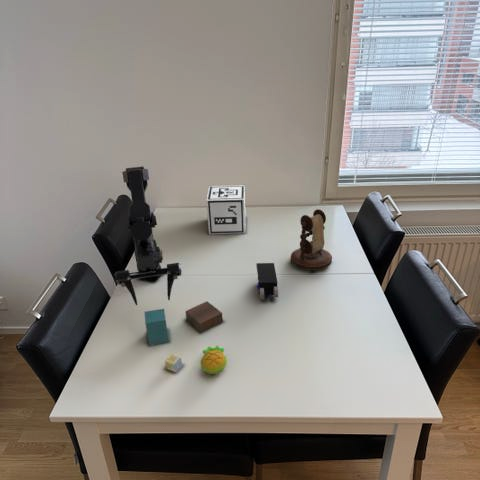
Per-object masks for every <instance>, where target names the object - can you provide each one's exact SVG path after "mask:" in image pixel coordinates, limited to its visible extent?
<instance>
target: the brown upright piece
mask: <svg viewBox="0 0 480 480" xmlns="http://www.w3.org/2000/svg"><path fill="white" fill-rule="evenodd" d="M299 220H300V225H301V231H300V232H301V233H300V235H299V239H300V241H299V248H296V249H295V250H294V251H292V252H291V254H290V261H291V263H292V264H293V265H294V266H296V267H297V268H299V269H303V270H307V271H310V272H311V273H314V271H318V270H322V269H325V268H327V267H329V266H330V265H331V264H332V262H333V256H332V254H331V253H330V252H329V251H328V250H326V249H324V247H325V236H324V235H325V232H324V231H325V229H326V227H325V224H326V221H327V217H326V214H325V212H324V211H323V210H322V209H319V208H317V209H315V210H314V211H313V214H312V216H311V217H310V216H309V215H307V214H304V215H302V216H301V217H300V219H299ZM310 236H312V237H311V241H309V239H307V238H308V237H310Z"/></svg>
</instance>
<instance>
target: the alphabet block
mask: <svg viewBox="0 0 480 480" xmlns="http://www.w3.org/2000/svg"><path fill="white" fill-rule="evenodd" d="M164 362H165V363H164V364H165V368H166V369H167V370H169V371H172V372H173V373H177V372H178V371H179V369H181V368H182V366H183V363H182V357H179V356H177V355H175V354H171V355H169V356H168V357H167V358H166V359H165V361H164Z"/></svg>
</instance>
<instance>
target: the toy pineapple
mask: <svg viewBox="0 0 480 480" xmlns="http://www.w3.org/2000/svg"><path fill="white" fill-rule="evenodd" d="M224 351H225V348H224V347H220V346H219V345H216V346H215V347H212V346H208V347H207V349H203V350H202V353H203V354H204V355H203V356H202V357H201V359H200V367H201V369H202V370H203V371H204V372H206V373H207V374H210V375H216V374H219V373H221V372H222V371H223V370H224V369H225V367H226V366H227V361H228V360H227V356H226V355H225V354H224V353H223V352H224Z"/></svg>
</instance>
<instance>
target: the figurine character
mask: <svg viewBox="0 0 480 480" xmlns="http://www.w3.org/2000/svg"><path fill="white" fill-rule="evenodd" d="M255 265H256V272H257V286H256V288H257V290H258V296H259V300H262V302H266V297H270V299H271V301H272V302H274V301H275V298H277V299H278V298H279V287H278V283H279V282H278V277H277V272H276V271H277V270H276V267H275V266H276V265H275V262H256V264H255Z"/></svg>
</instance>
